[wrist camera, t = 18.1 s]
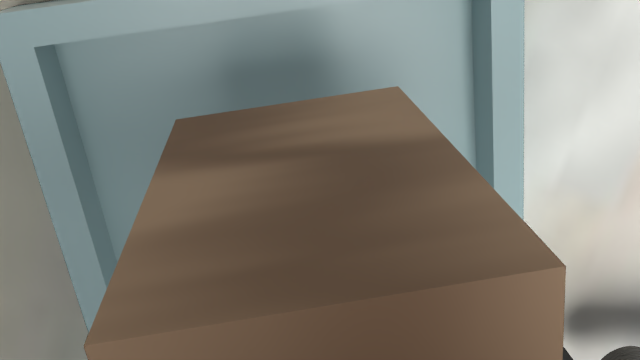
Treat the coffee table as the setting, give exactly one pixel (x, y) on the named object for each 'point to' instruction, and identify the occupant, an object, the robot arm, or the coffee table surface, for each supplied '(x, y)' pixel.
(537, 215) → the coffee table surface
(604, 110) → the coffee table surface
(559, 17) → the coffee table surface
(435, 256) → the stop block
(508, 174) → the tray
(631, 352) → the crank
